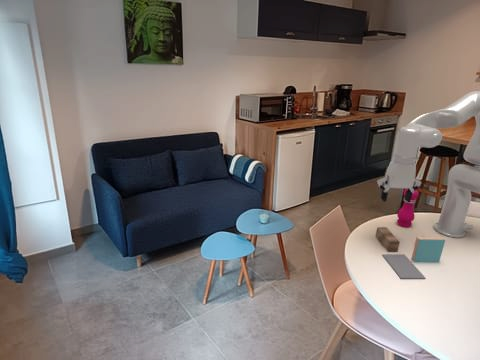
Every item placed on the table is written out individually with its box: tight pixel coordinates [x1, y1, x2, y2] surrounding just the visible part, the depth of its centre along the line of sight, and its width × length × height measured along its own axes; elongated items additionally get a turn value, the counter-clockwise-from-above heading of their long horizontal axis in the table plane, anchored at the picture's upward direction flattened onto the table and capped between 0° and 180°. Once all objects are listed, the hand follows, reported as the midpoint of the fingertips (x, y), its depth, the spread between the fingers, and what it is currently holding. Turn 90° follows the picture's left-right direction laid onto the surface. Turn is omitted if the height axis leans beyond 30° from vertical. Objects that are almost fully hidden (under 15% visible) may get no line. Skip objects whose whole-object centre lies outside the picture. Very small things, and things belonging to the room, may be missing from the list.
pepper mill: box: [396, 189, 419, 228], centre depth 153 cm, size 7×7×20 cm
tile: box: [410, 236, 446, 263], centre depth 126 cm, size 2×10×10 cm, turn 92°
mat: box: [381, 253, 426, 280], centre depth 124 cm, size 9×15×1 cm, turn 2°
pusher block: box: [375, 226, 401, 253], centre depth 138 cm, size 12×4×5 cm, turn 2°
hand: (395, 200), depth 132 cm, fingers open, 9 cm apart
